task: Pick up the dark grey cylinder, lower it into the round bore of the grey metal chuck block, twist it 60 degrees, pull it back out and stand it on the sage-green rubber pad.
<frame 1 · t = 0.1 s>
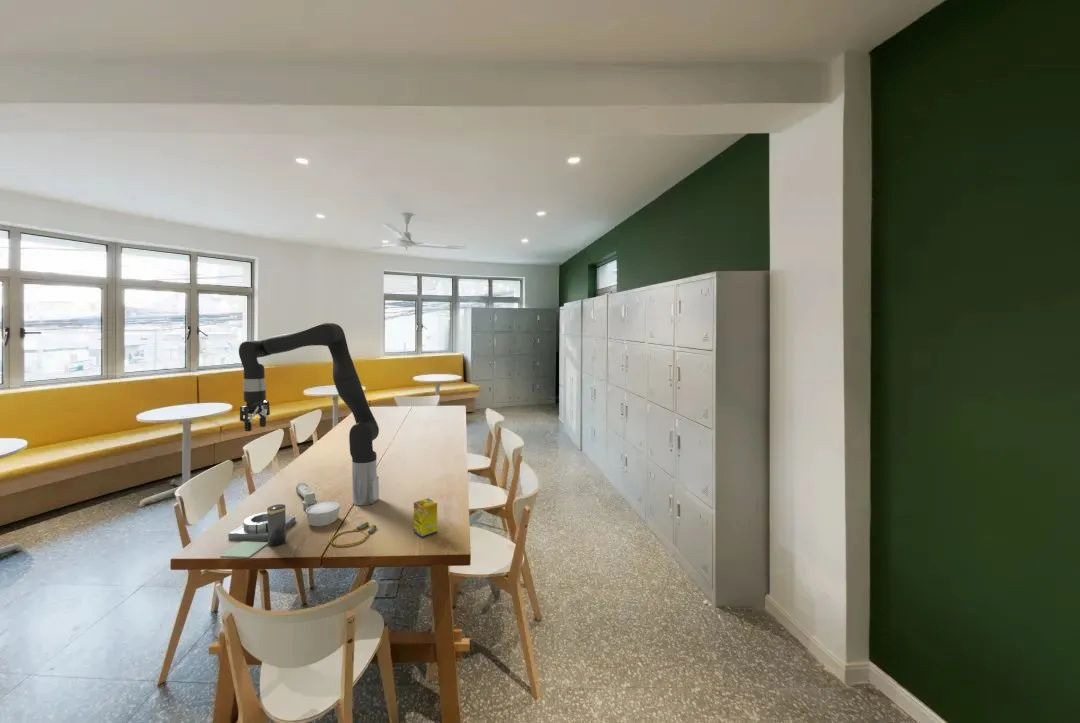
hand: (255, 428, 174), 29 cm above the table, fingers open, 8 cm apart
extension cord: (354, 538, 145), on the table
mat: (245, 550, 135), on the table
chuck block: (263, 530, 148), on the table
supplement box: (425, 533, 148), on the table
toothbrush head: (305, 501, 176), on the table
dark grey cylinder: (277, 543, 139), on the table
ramekin: (323, 521, 156), on the table
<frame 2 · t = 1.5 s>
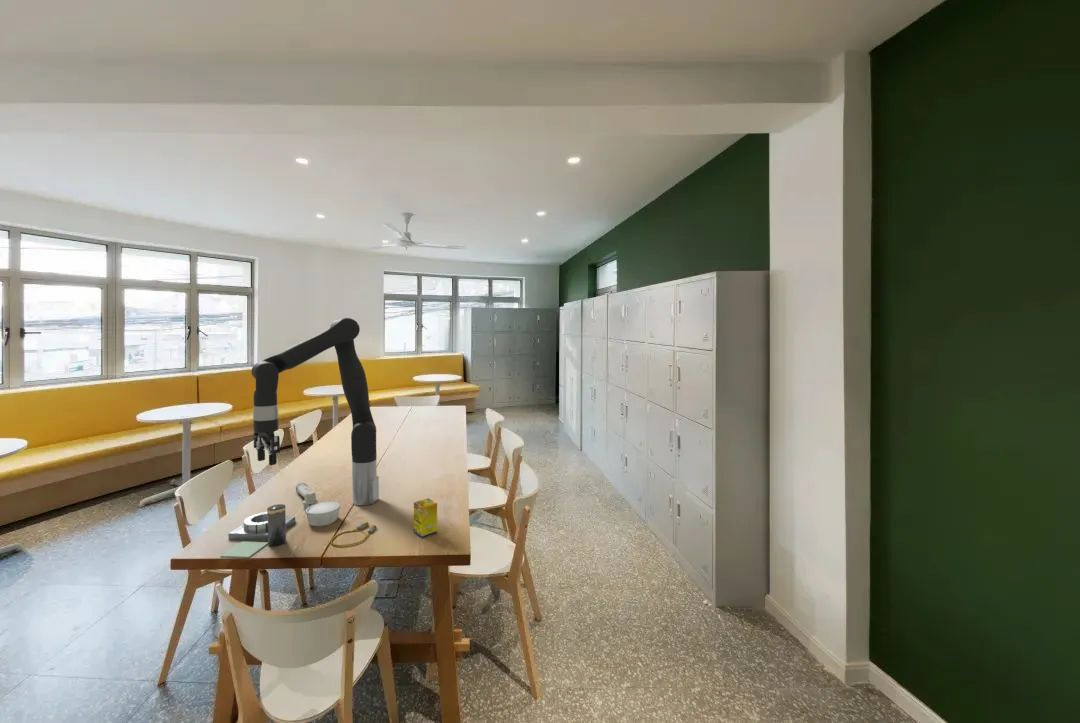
hand: (266, 462, 152), 22 cm above the table, fingers open, 8 cm apart
nothing on the table moved.
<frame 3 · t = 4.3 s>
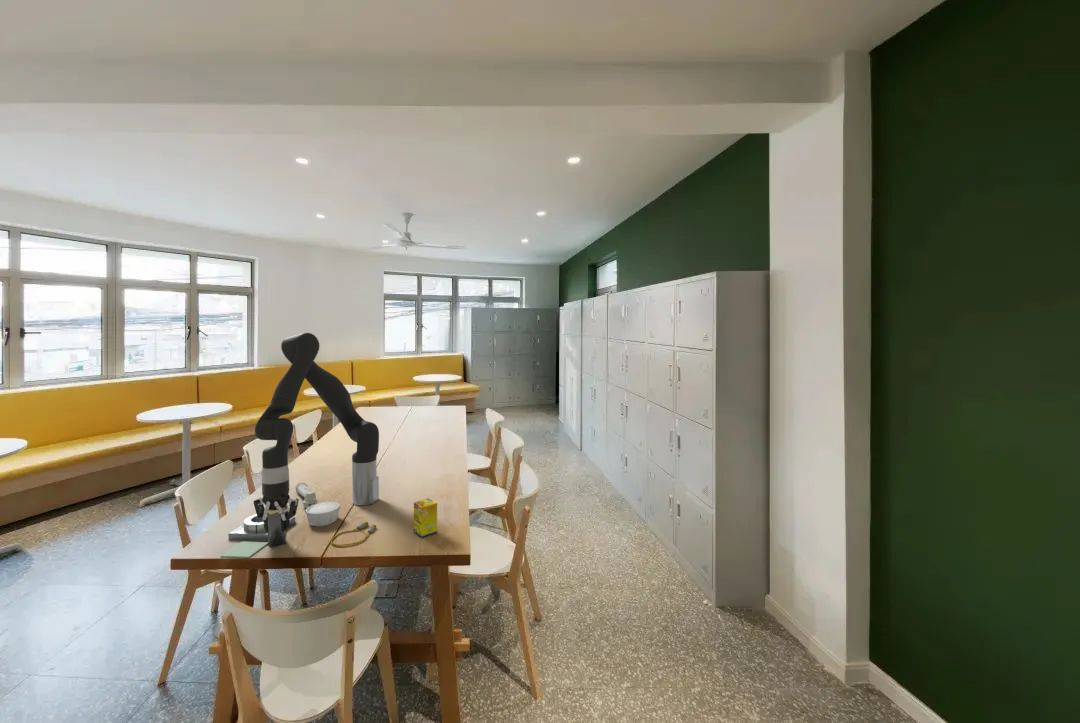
hand: (276, 529, 139), 4 cm above the table, fingers closed on dark grey cylinder, 5 cm apart
dark grey cylinder: (277, 543, 139), on the table, touching gripper
everything else where it was.
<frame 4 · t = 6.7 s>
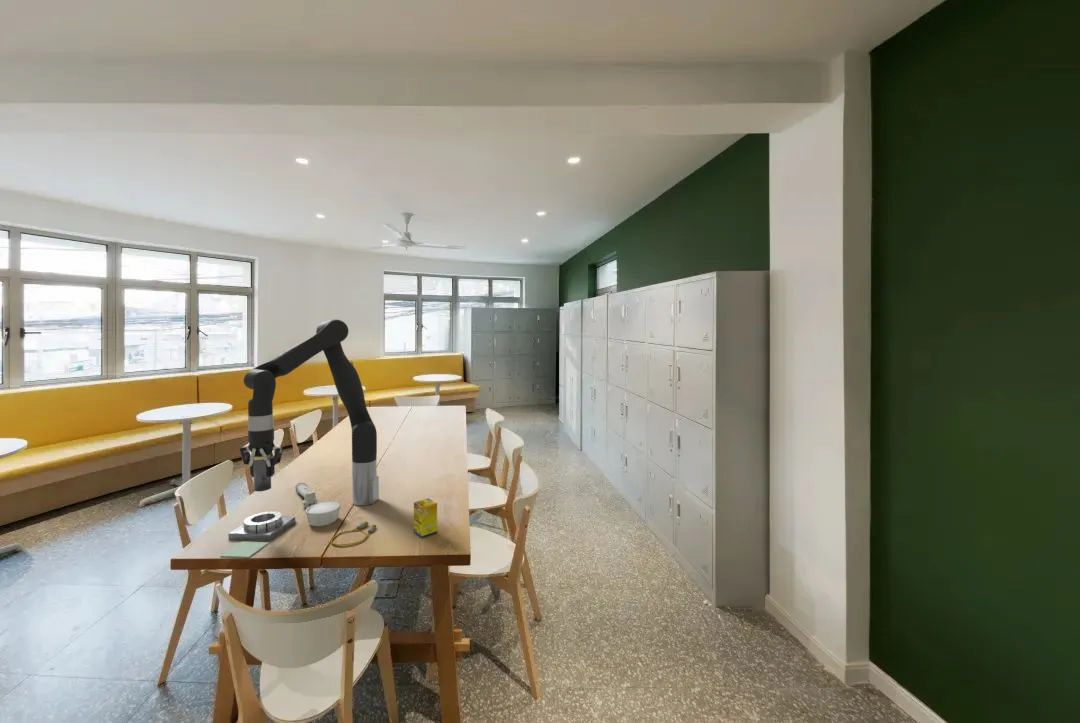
hand: (262, 476, 147), 19 cm above the table, fingers closed on dark grey cylinder, 5 cm apart
dark grey cylinder: (262, 488, 147), point 15 cm above the table, touching gripper
everything else where it was.
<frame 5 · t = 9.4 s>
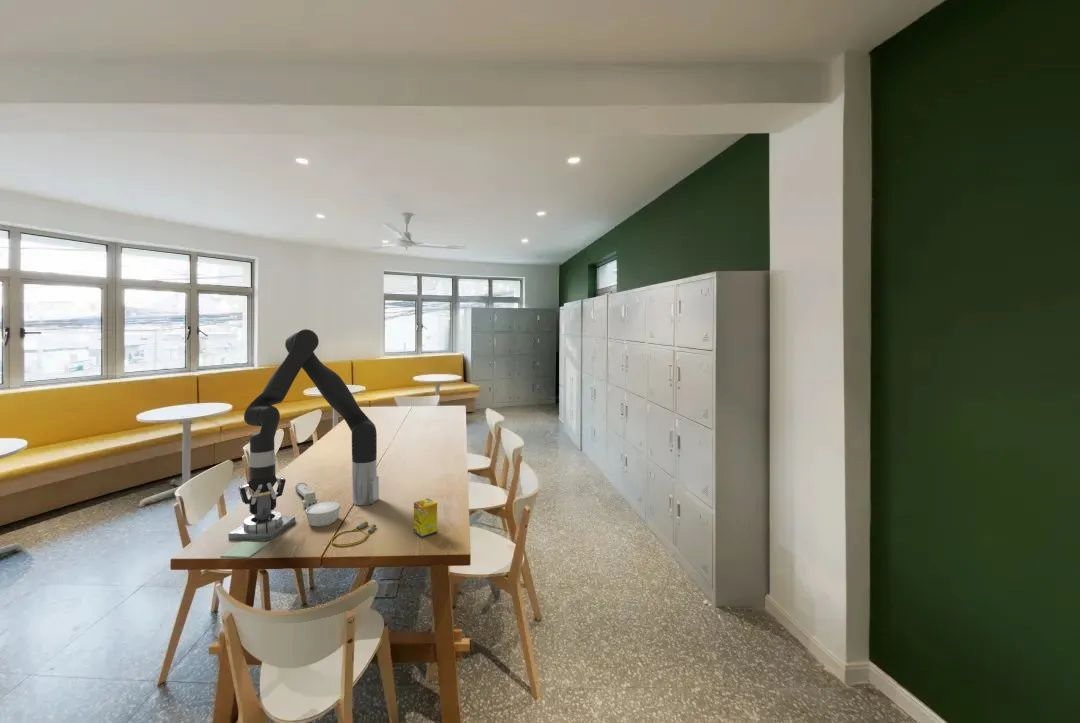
hand: (263, 511, 147), 7 cm above the table, fingers closed on dark grey cylinder, 5 cm apart
dark grey cylinder: (262, 523, 147), point 3 cm above the table, touching gripper
everything else where it was.
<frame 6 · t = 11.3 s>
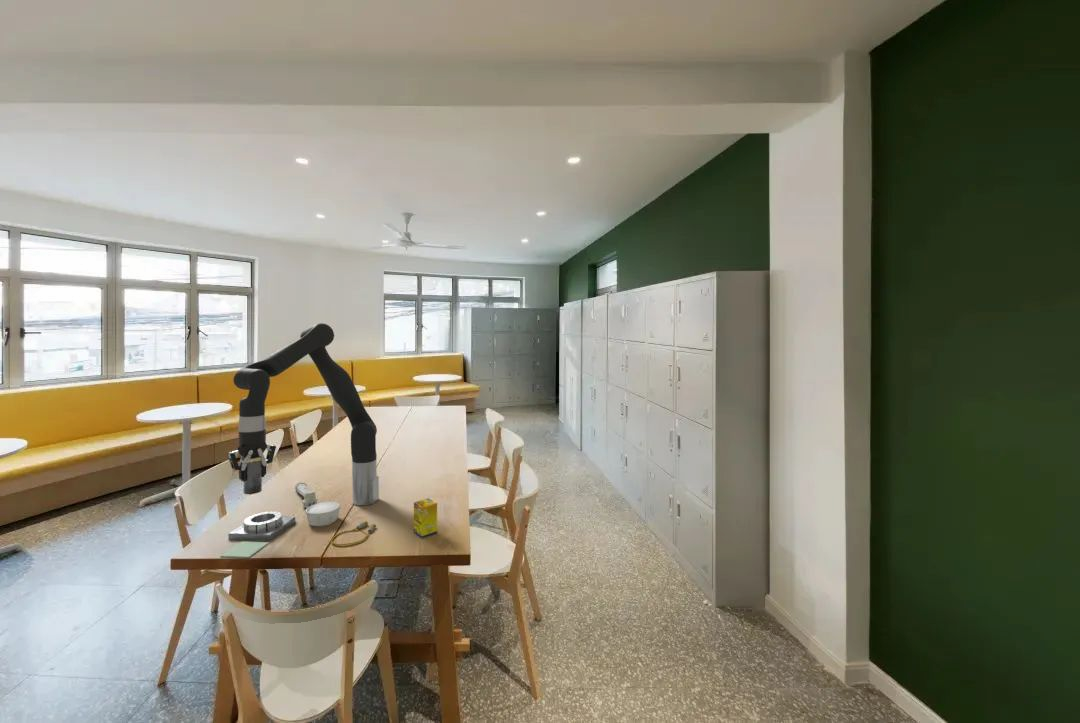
hand: (252, 478, 143), 20 cm above the table, fingers closed on dark grey cylinder, 5 cm apart
dark grey cylinder: (252, 491, 143), point 15 cm above the table, touching gripper
everything else where it was.
when the fingers open (6 cm above the table, at t = 14.4 s): dark grey cylinder stays where it is, resting on mat.
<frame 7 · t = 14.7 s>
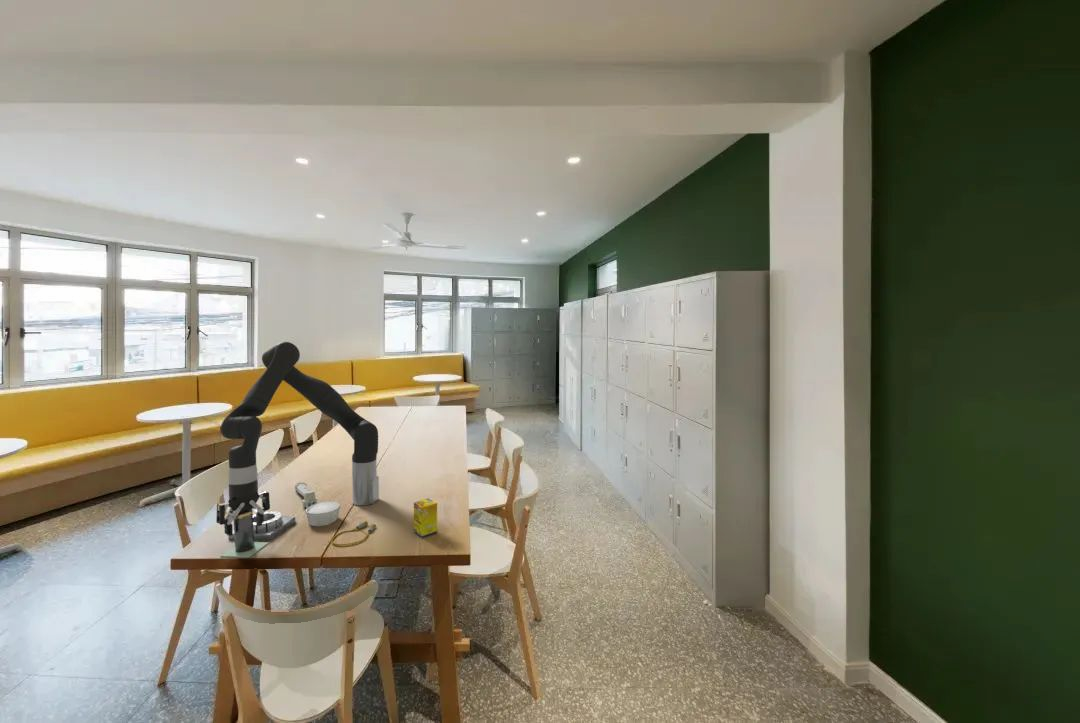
hand: (244, 529, 134), 7 cm above the table, fingers open, 8 cm apart
dark grey cylinder: (245, 548, 135), resting on mat
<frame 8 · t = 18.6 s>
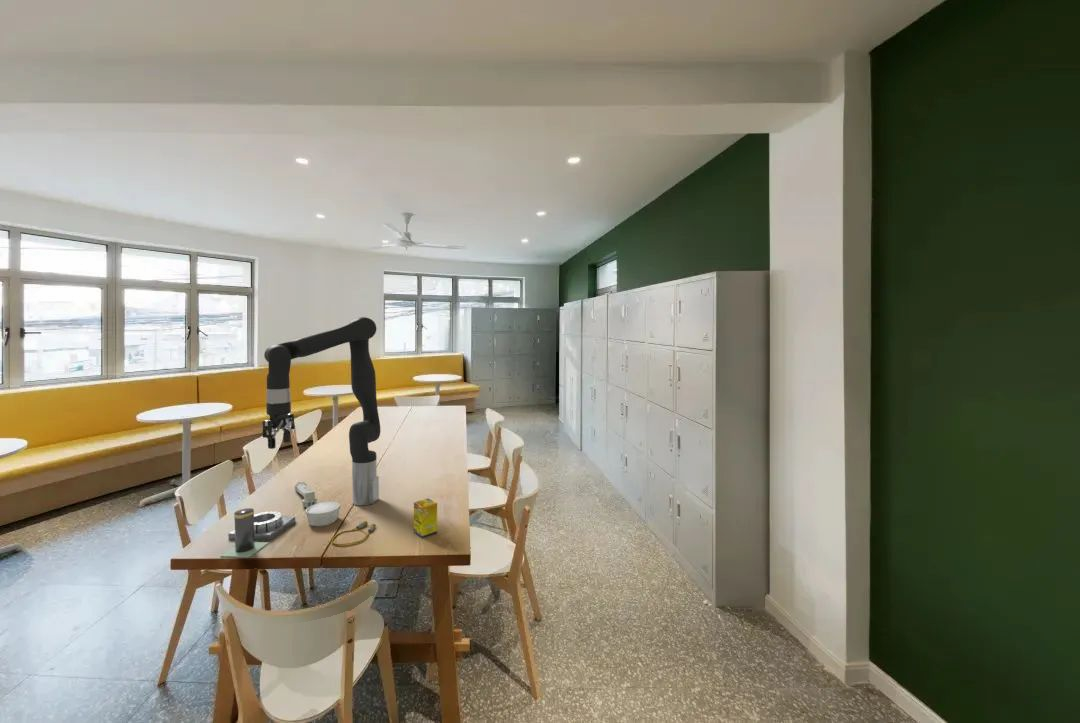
hand: (279, 445, 154), 28 cm above the table, fingers open, 8 cm apart
at the end: dark grey cylinder 0.3 cm from the mat (horizontally); dark grey cylinder tilted 0°; dark grey cylinder touching mat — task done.
